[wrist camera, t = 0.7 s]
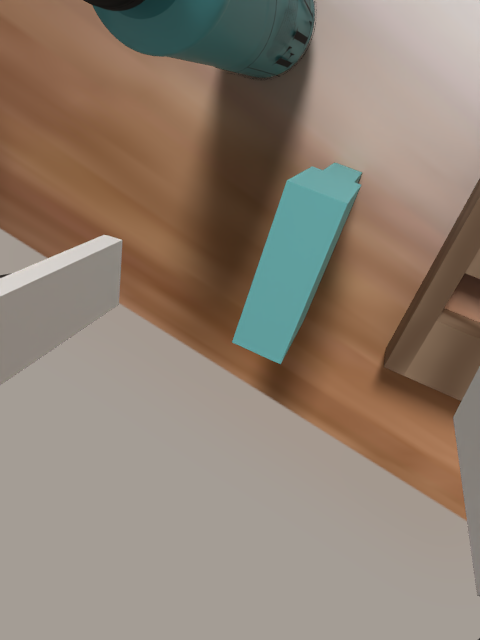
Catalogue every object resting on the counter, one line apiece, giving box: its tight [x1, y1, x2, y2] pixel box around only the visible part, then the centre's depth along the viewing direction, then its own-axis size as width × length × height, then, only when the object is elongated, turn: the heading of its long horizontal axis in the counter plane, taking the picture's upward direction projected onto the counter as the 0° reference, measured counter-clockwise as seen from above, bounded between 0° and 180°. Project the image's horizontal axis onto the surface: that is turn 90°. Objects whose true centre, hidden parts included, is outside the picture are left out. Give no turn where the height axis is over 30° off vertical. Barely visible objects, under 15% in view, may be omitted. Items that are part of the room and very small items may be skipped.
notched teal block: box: [232, 163, 362, 364], centre depth 28 cm, size 3×9×12 cm, turn 162°
